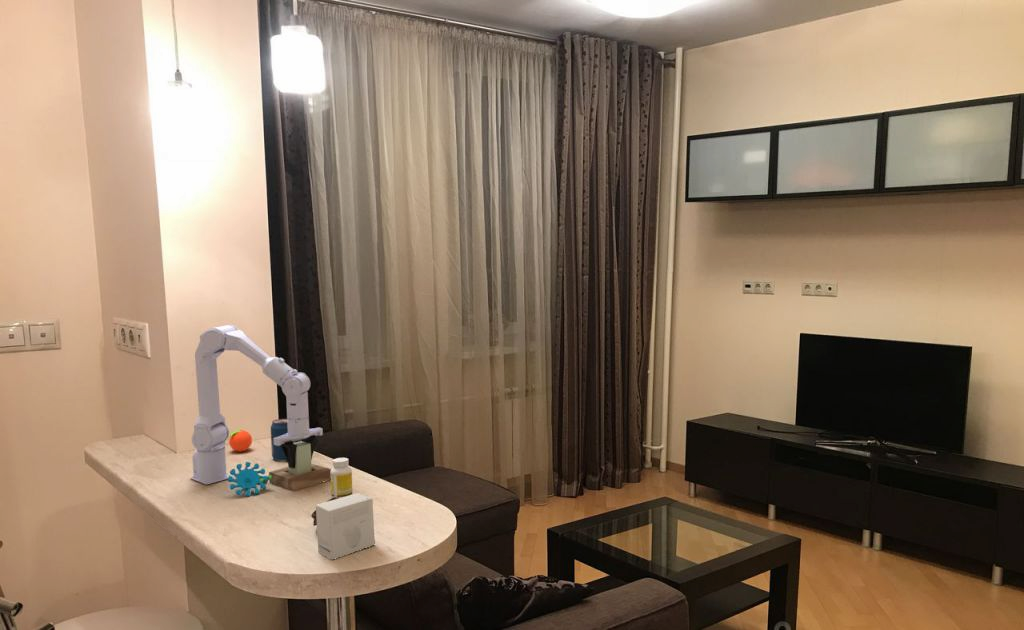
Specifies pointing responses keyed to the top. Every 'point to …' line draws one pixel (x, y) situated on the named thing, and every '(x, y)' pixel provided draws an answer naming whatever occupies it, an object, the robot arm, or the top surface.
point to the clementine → (240, 440)
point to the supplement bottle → (341, 478)
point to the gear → (248, 479)
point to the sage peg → (302, 459)
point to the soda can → (277, 430)
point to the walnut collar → (299, 477)
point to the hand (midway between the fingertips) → (300, 465)
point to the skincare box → (345, 525)
